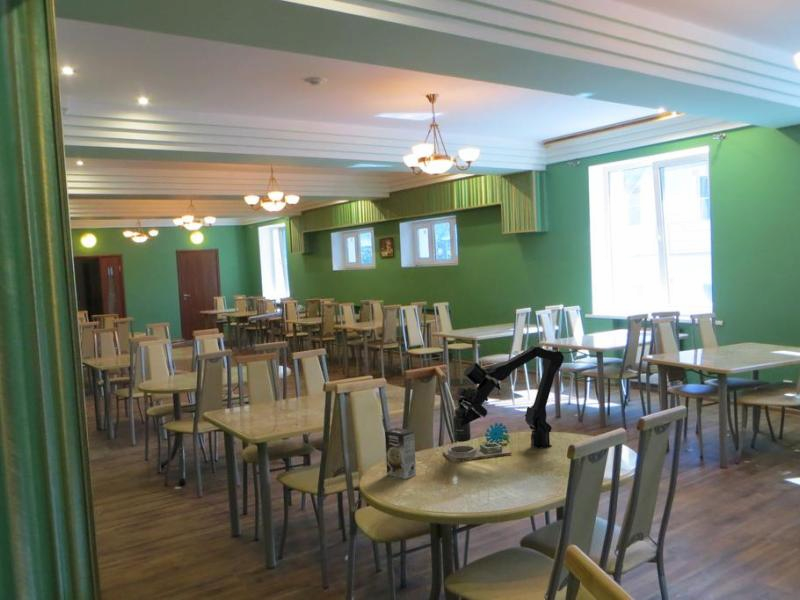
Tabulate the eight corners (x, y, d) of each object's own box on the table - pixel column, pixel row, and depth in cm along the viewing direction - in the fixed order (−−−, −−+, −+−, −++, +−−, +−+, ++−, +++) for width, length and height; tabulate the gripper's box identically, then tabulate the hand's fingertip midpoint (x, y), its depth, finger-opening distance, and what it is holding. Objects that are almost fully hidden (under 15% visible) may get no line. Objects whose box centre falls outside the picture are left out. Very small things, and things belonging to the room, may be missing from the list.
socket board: (499, 447, 268) (499, 440, 268) (511, 454, 257) (511, 447, 257) (443, 454, 262) (442, 446, 262) (453, 462, 251) (452, 454, 251)
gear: (480, 438, 278) (491, 419, 282) (485, 445, 281) (497, 426, 285) (500, 446, 270) (512, 426, 274) (506, 453, 273) (518, 433, 277)
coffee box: (386, 475, 239) (383, 431, 239) (398, 470, 244) (396, 427, 243) (404, 479, 233) (402, 434, 232) (416, 474, 238) (414, 430, 237)
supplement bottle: (457, 442, 254) (455, 411, 253) (450, 438, 260) (449, 408, 260) (473, 440, 256) (472, 409, 255) (467, 436, 262) (465, 406, 262)
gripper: (459, 375, 267) (435, 406, 264) (477, 382, 249) (452, 415, 246) (478, 393, 269) (454, 423, 267) (498, 400, 252) (473, 433, 249)
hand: (458, 423), depth 257 cm, fingers closed on supplement bottle, 7 cm apart
